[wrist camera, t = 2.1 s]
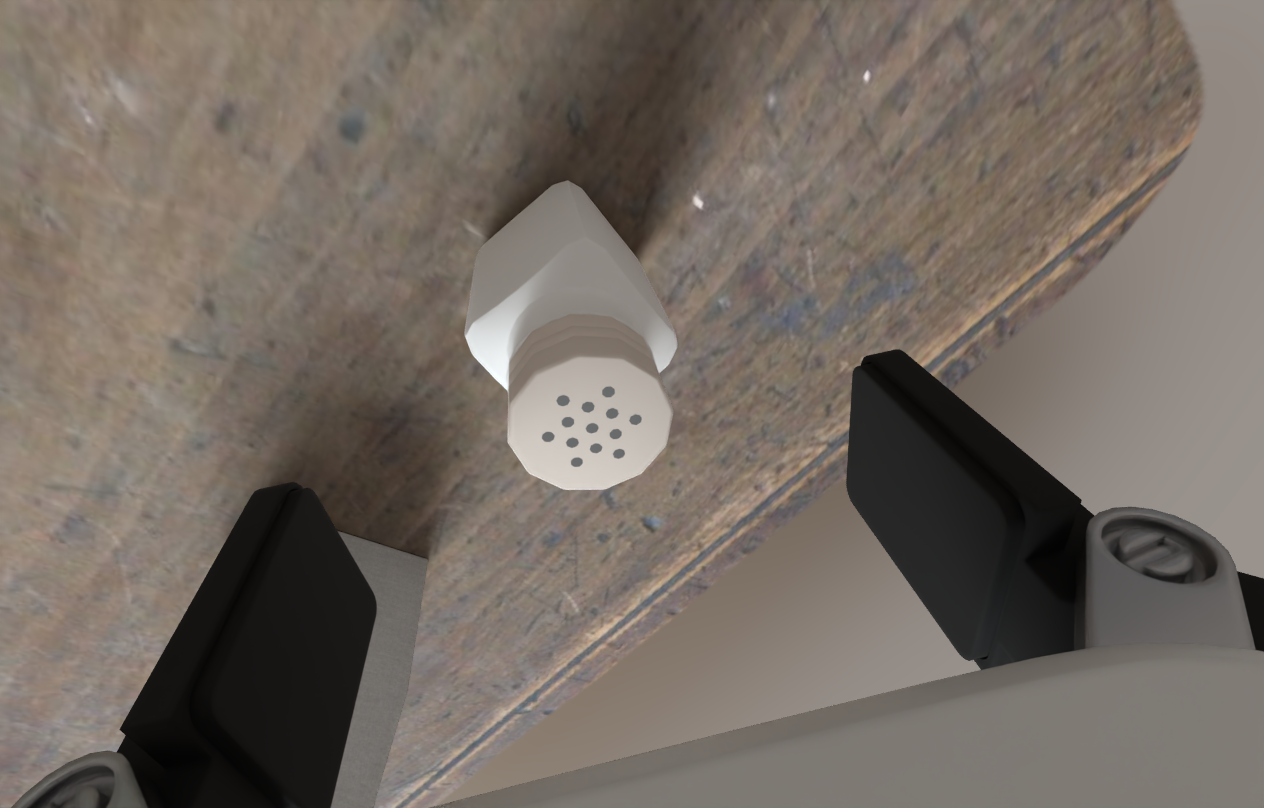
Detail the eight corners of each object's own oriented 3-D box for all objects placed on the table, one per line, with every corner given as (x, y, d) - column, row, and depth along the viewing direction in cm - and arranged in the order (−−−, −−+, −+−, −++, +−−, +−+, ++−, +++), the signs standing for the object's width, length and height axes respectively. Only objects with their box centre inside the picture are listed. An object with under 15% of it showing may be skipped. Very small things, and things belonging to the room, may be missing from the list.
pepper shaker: (467, 252, 19) (435, 425, 11) (566, 166, 18) (610, 286, 10) (553, 339, 21) (578, 537, 13) (645, 266, 20) (732, 431, 12)
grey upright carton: (255, 504, 22) (102, 793, 14) (428, 559, 25) (386, 826, 17) (222, 568, 24) (67, 865, 15) (391, 613, 27) (335, 884, 18)
